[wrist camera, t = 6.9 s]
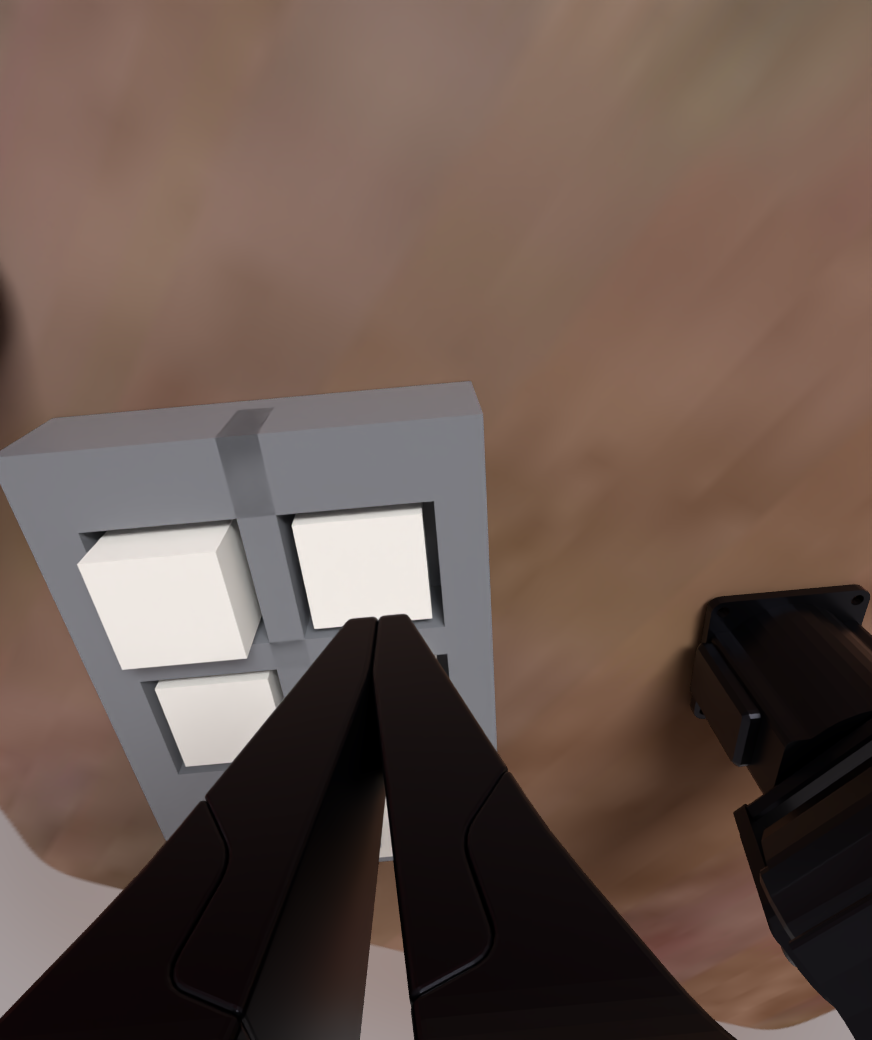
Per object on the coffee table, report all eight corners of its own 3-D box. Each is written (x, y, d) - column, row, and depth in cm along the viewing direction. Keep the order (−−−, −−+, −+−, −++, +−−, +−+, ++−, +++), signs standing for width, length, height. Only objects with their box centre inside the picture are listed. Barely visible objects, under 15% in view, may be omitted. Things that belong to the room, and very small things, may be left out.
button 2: (280, 633, 23) (267, 679, 21) (299, 708, 25) (289, 757, 23) (178, 643, 23) (154, 689, 21) (204, 717, 25) (185, 766, 23)
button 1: (236, 511, 19) (215, 551, 17) (263, 611, 21) (247, 658, 19) (114, 523, 19) (77, 564, 17) (151, 621, 21) (122, 669, 19)
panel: (471, 381, 20) (484, 418, 17) (491, 782, 30) (502, 858, 26) (52, 418, 20) (-20, 463, 17) (207, 808, 29) (181, 887, 26)
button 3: (419, 480, 21) (421, 513, 18) (429, 577, 22) (432, 618, 20) (303, 490, 21) (291, 525, 18) (323, 586, 22) (314, 628, 20)
